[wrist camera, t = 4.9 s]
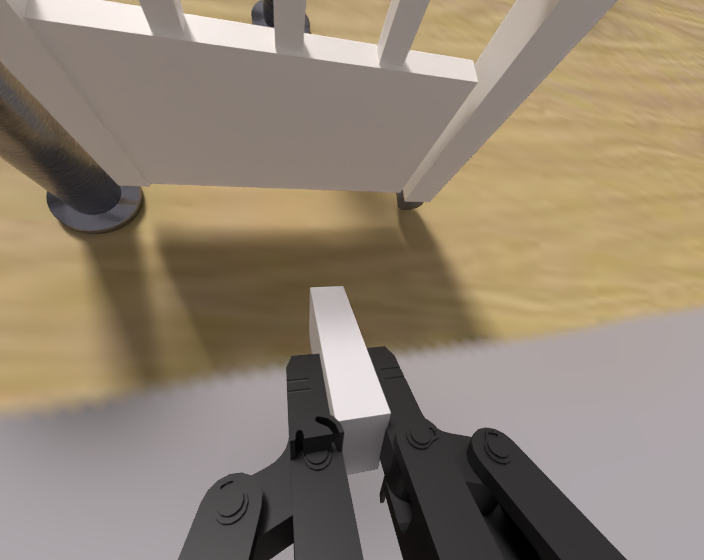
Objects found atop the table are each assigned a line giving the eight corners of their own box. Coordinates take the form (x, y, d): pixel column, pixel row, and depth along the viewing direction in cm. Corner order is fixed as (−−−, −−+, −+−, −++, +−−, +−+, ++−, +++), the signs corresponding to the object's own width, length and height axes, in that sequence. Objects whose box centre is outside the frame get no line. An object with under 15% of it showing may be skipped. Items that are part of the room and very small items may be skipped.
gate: (138, 209, 19) (-710, -666, 3) (140, 182, 20) (-575, -705, 3) (417, 214, 24) (711, -101, 8) (414, 192, 25) (684, -149, 8)
